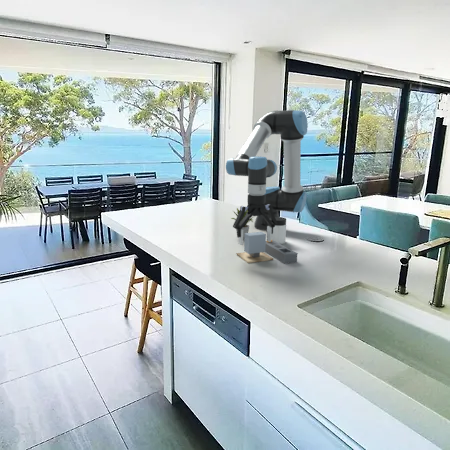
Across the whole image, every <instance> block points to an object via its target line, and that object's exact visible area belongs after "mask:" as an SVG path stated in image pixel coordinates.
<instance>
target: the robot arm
mask: <svg viewBox="0 0 450 450" xmlns="http://www.w3.org/2000/svg"><path fill="white" fill-rule="evenodd" d="M308 127H309V126H308V119H307V115H306V113H305V112H304V111H302V110H297V109H296V110H293V109H292V110H291V109H290V110H288V109H287V110H272V111H269V112H267V113H265V114H264V115H262V116H261V117H260V118H258V120H257V121H256V122H255V124H253V128H252V129H253V130H252V132H251V133H250V135H249V136H248V138H247V140H246V141H245V142H244V144H243V146H242V147H241V148H240V150H239V152H238V153H237V155H236V157H232V158H228V159H227V160H226V163H225V170H226V173H227V174H228V175H230V176H239V177H247V178H248V180H247V193H248V194H247V206H243V205H241V206H240V209H239V210H240V212H239V214H237V215H238V216H236V218H235V219H236V220H234V222H233V225H232V228H234V229H235V230H236V229H237V231H236V237H237V236H238V237H239V238H238V237H237V238H238V244H239V245H241V246H243V245H244V239H243V230H242V228H243V227H244V225H245V224H246V223H247V224H248V222H249V221H248V220H249V219H250V218H252V217H256V219H255V221H254V222H253V223H254V225H253V226H254V228H255V229H257V230H258V229H259V230H263V231H266V241H269V242H271V234H273V227H275V225H277V224H278V223H277V221H276V218H275V217H280V215H279V212H281V211H282V212H289V213H302V212H303V211H304V209H305V206H306V203H307V198H308V193H307V191H304V187H303V186H302V184H301V158H302V157H301V155H302V154H301V151H302V150H301V147H302V146H301V145H302V143H301V141H302V140H303V139H304V138H305V137H304V136H305V135H306V134H307V133H308ZM272 135H280V136H279V137H280V140H281V141H282V142H283V175H284V176H283V182H284V183H283V184H284V185H283V186H281V188H280V186H275V185H274V186H267V178H271V177H272V176H274V175H275V174H277V173H276V172H277V171H278V166H277V163H276V161H274V160H273V159H268V158H267V157H266V156H258V153H259V151H260V149H261V148H262V146H263V145H264V142H266V139H269V138H270V137H271V136H272ZM246 210H248V212H247V213H246V215H245V217H244V218H243V216H244V213H245V211H246ZM242 218H243V219H242ZM270 218H271V221H272V222H271V221H270ZM241 220H242V221H241ZM247 221H248V222H247ZM247 224H246V225H247Z"/></svg>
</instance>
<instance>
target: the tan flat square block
mask: <svg viewBox="0 0 450 450" xmlns="http://www.w3.org/2000/svg"><path fill="white" fill-rule="evenodd" d="M236 254H237V255H236ZM235 255H236V256H237V257H239V258H240V257H241V259H242V260H243V261H244V262H245V263H247V264H250V263H251V264H253V263H259V262H267V261H274V257H273V256H271V255H269V254H268V253H266V252H261V253H260V257H255V258H253V257H252V256H250V255H249V254H248V253H246V252H245V251H244V252H236V253H235Z"/></svg>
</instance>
